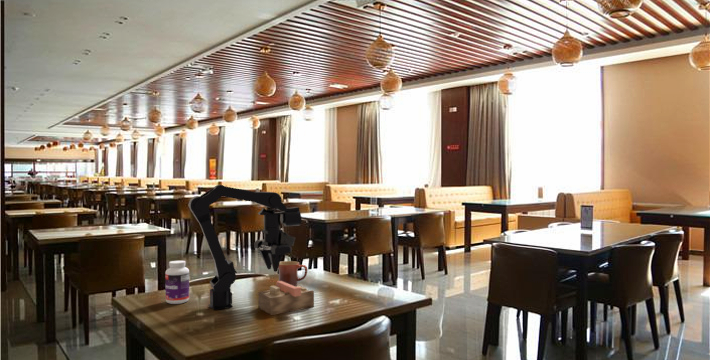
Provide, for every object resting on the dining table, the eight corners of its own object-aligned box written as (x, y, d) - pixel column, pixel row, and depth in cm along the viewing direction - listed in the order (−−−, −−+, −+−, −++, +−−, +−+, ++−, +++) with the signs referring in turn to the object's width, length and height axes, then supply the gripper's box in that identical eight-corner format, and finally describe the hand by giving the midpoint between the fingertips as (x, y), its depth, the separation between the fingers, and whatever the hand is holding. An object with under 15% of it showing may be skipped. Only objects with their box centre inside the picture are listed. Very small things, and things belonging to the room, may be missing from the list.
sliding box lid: (272, 300, 158) (272, 290, 158) (263, 295, 164) (263, 286, 164) (310, 293, 166) (310, 284, 166) (300, 289, 172) (300, 280, 172)
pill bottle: (160, 303, 171) (160, 262, 171) (178, 297, 178) (177, 259, 178) (176, 305, 167) (176, 264, 167) (194, 300, 175) (193, 260, 174)
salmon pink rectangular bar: (294, 296, 157) (294, 288, 157) (275, 288, 168) (275, 281, 168) (301, 295, 158) (300, 287, 158) (281, 287, 170) (281, 280, 170)
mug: (274, 291, 187) (274, 265, 187) (280, 286, 196) (280, 260, 195) (305, 292, 186) (304, 265, 186) (309, 286, 194) (309, 261, 194)
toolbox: (271, 315, 156) (270, 295, 156) (258, 308, 164) (258, 289, 164) (313, 306, 165) (313, 288, 165) (299, 300, 173) (299, 283, 173)
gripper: (304, 227, 170) (304, 271, 170) (280, 223, 185) (281, 263, 185) (275, 230, 163) (276, 275, 164) (253, 225, 179) (253, 267, 179)
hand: (272, 270), depth 173 cm, fingers open, 5 cm apart
